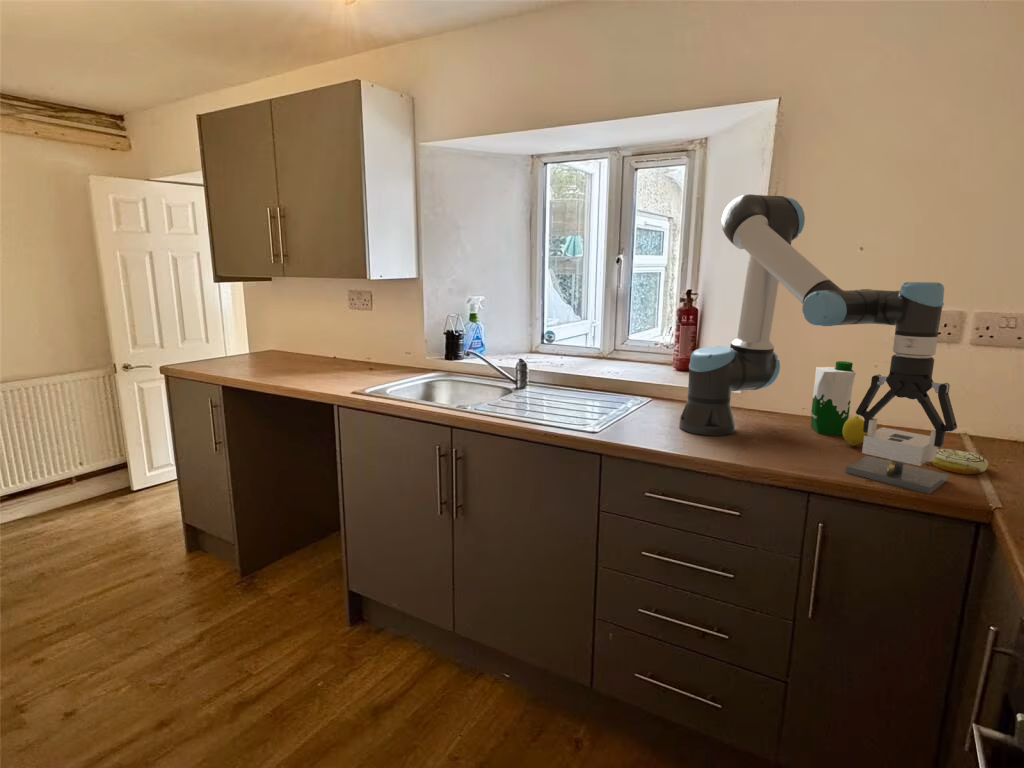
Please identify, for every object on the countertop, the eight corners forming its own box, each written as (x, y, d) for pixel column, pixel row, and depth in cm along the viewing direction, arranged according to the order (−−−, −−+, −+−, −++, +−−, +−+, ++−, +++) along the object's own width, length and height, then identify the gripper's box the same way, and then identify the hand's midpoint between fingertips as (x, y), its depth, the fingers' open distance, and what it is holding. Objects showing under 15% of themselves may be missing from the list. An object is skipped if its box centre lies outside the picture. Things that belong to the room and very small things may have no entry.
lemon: (842, 441, 152) (846, 412, 150) (866, 445, 148) (870, 415, 146) (838, 446, 147) (842, 416, 146) (863, 450, 144) (867, 420, 142)
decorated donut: (995, 479, 125) (998, 463, 124) (938, 473, 128) (940, 457, 128) (974, 464, 135) (977, 449, 134) (922, 458, 138) (924, 444, 137)
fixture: (845, 472, 128) (849, 443, 127) (866, 461, 136) (869, 433, 134) (929, 494, 116) (934, 461, 115) (946, 480, 123) (951, 450, 122)
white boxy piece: (880, 443, 132) (882, 427, 132) (936, 455, 124) (939, 437, 123) (861, 452, 126) (864, 435, 125) (920, 466, 117) (922, 447, 116)
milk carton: (850, 436, 156) (859, 365, 152) (815, 434, 158) (823, 364, 154) (839, 427, 164) (847, 360, 160) (805, 426, 166) (813, 359, 162)
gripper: (846, 350, 127) (835, 444, 131) (977, 364, 109) (959, 471, 113) (859, 347, 132) (848, 438, 136) (987, 360, 114) (969, 463, 118)
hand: (899, 453), depth 125 cm, fingers closed on white boxy piece, 11 cm apart
